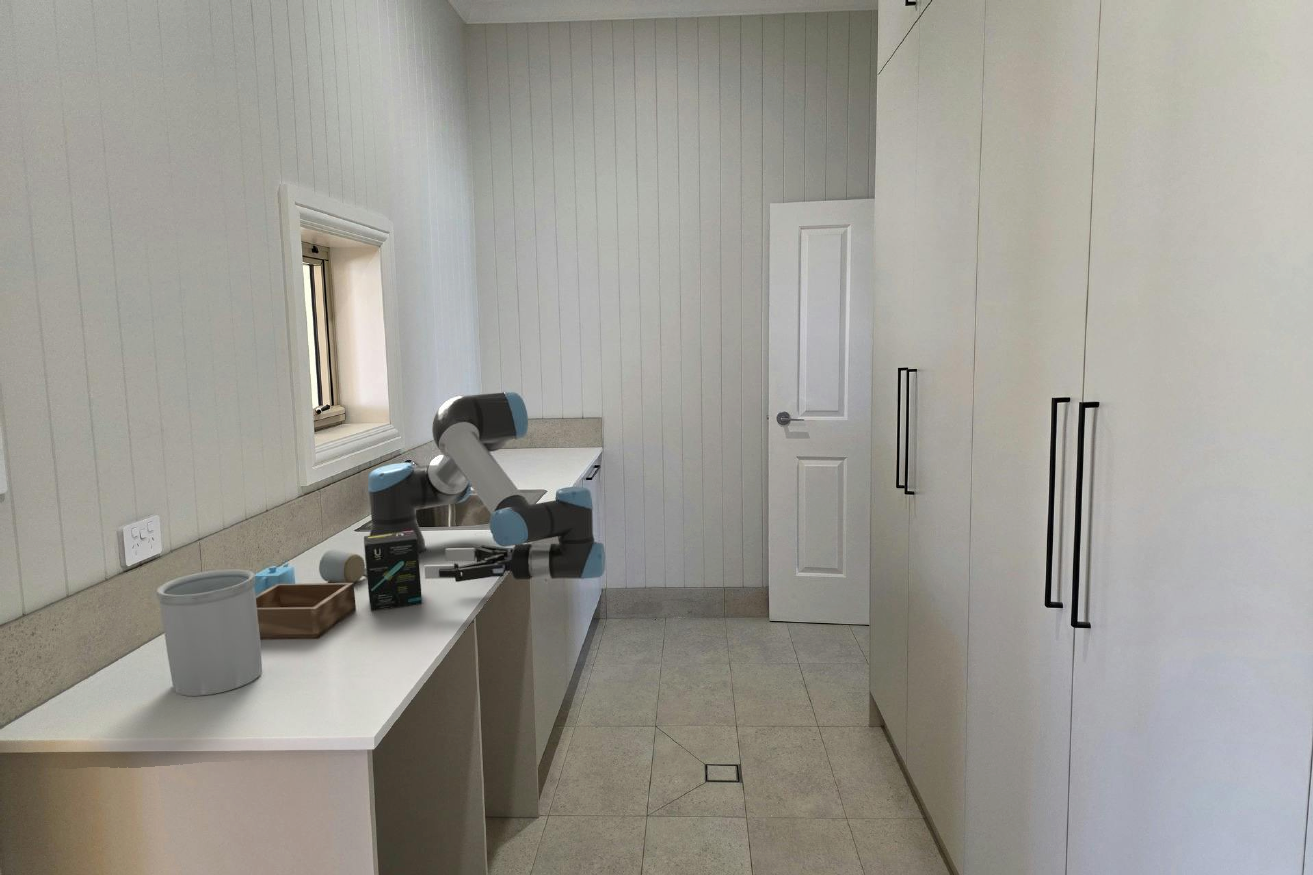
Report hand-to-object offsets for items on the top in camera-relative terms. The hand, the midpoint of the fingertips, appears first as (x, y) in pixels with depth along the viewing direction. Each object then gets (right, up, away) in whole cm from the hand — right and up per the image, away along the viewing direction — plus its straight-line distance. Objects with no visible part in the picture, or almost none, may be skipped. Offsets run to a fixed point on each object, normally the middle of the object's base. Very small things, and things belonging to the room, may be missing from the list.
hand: (436, 563), depth 185 cm
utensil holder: (-28, -15, -38) cm, 49 cm away
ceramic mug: (-27, -7, +20) cm, 34 cm away
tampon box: (-9, -9, +2) cm, 13 cm away
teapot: (-38, -9, +8) cm, 40 cm away
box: (-25, -11, -11) cm, 30 cm away
